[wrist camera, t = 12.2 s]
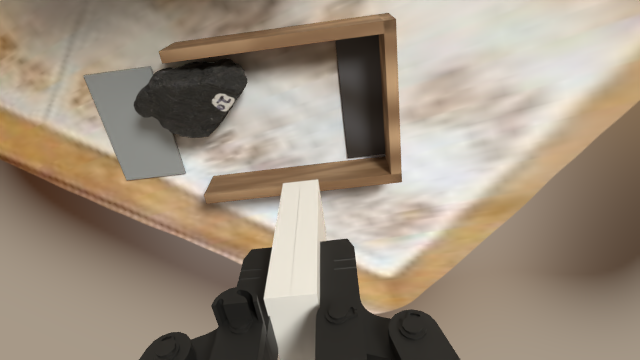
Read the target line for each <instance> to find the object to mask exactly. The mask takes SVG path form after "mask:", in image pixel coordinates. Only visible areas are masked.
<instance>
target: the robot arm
mask: <svg viewBox="0 0 640 360" xmlns="http://www.w3.org/2000/svg"><path fill="white" fill-rule="evenodd" d="M212 309H213V312H214V315H215V317H216V320H217V323H218V325H219V327H218V328H217V329H216V330H214V331H212V332H210V333H208V334H206V335H203V336H200V337H197V338H195V339H192V340H190V338H189V337H188V336H187V335H186V334H184V333H181V332H173V333H168V334H166V335H163V336H161V337H159V338H158V339H156V340H155V341H153V343H152V344H151V345H150V346H149V347H148V348H147V349H146V351H145V352H144V354H143V355H142V356H141V358H140V359H139V360H277V358H278V354H279V358H280V360H460V358H459V357H458V355H457V354H456V352H455V351H454V349H453V348H452V346H451V345H450V343H449V341H448V340H447V338H446V337H445V335H444V334H443V332H442V330H441V329H440V327H439V326H438V324H437V323H436V322H435V320H434V319H432V317H431V316H430V315H428V314H426V313H424V312H422V311H418V310H404V311H402V312H399V313H397V314H395V315H394V316H393V317H392V319H389V318H383V317H379V316H376V315H374V314H372V313H370V312H369V311H367V310H366V309H365V308H364V306H363V305H362V303H361V300H360V294H359V285H358V277H357V268H356V259H355V251H354V246H353V245H352V244H351V243H350V241H349V240H348V239H340V240H330V241H326V228H325V221H324V215H323V208H322V202H321V195H320V188H319V182H318V179H317V180H308V181H299V182H290V183H283V186H282V192H281V198H280V204H279V210H278V216H277V222H276V228H275V234H274V240H273V246H272V247H271V248H262V249H252V250H251V251H250V252H249V253H248V255H247V256H246V257H245V258H244V260H243V264H242V268H241V272H240V276H239V281H238V284H237V287H235V288H231V289H228V290H226V291H224V292H223V293H221V294H220V295H219V296H218V297H217V298H216V299H215V300H214V302H213V304H212Z"/></svg>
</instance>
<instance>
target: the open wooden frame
mask: <svg viewBox="0 0 640 360" xmlns="http://www.w3.org/2000/svg"><path fill="white" fill-rule="evenodd" d="M333 40H336V49H337V59H338V68H339V77H340V87H341V96H342V105H343V115H344V124H345V134H346V143H347V152H348V158H353V157H362V156H370V155H379V154H385V156H383V157H374V158H366V159H357V160H349V161H340V162H331V163H323V164H314V165H305V166H297V167H288V168H279V169H271V170H262V171H253V172H245V173H236V174H227V175H219V176H213V178H212V180H211V182H210V184H209V186H208V188H207V190H206V192H205V194H204V197H205V201H206V204H209V203H218V202H227V201H236V200H245V199H254V198H263V197H272V196H281V192H282V186H283V183H290V182H299V181H308V180H317V179H318V182H319V188H320V191H326V190H335V189H344V188H353V187H362V186H371V185H380V184H389V183H398V182H402V174H401V147H400V119H399V91H398V64H397V36H396V19H395V18H394V17H393V16H391V15H390V14H389V13H385V14H378V15H370V16H363V17H356V18H349V19H341V20H334V21H327V22H320V23H313V24H305V25H298V26H291V27H284V28H276V29H269V30H262V31H255V32H247V33H240V34H233V35H226V36H218V37H211V38H204V39H197V40H189V41H182V42H175V43H173V44H171V45H169V46H168V47H166V48H164V49H162V50H161V51H159V54H160V57H161V61H162V64H163V63H170V62H177V61H185V60H192V59H200V58H207V57H214V56H222V55H229V54H237V53H244V52H251V51H259V50H266V49H274V48H281V47H288V46H296V45H303V44H311V43H318V42H325V41H333Z"/></svg>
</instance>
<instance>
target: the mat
mask: <svg viewBox="0 0 640 360" xmlns="http://www.w3.org/2000/svg"><path fill="white" fill-rule="evenodd" d="M153 75H154V74H153V71H152V68H151V66H149V67H142V68H134V69H127V70H119V71H112V72H105V73H97V74H90V75H84V78H85V81H86V83H87V86H88V88H89V90H90V93H91V95H92V98H93V100H94V103H95V105H96V107H97V110H98V112H99V115H100V117H101V119H102V122H103V124H104V127H105V129H106V132H107V134H108V136H109V139H110V141H111V144H112V146H113V148H114V151H115V153H116V156H117V158H118V161H119V163H120V165H121V168H122V170H123V173H124V175H125V177H126V180H134V179H143V178H151V177H160V176H169V175H177V174H185V173H186V172H185V169H184V166H183V163H182V159H181V156H180V153H179V150H178V147H177V144H176V141H175V138H174V135H173V133H171V132H169V130H168V129H165V128H163V127H162V125H161V124H160V122H159V121H158V120H157V119H156V118H154V117H149V118H144V117H142V116H141V115H139V114H138V113H137V112H136V110H135V108H134V101H135V100H136V97H137V95H138V93H139V91H140V90H141V89H142V88H143V87H145V86H146V85H147V84H148V83H149V81H150V79H151V77H152V76H153Z"/></svg>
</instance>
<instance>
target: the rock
mask: <svg viewBox="0 0 640 360" xmlns="http://www.w3.org/2000/svg"><path fill="white" fill-rule="evenodd" d="M244 71H245V70H243V69H242V68H241V66H240V65H239V64H235V63H234V62H233V61H232V60H231V59H222V60H219V61H217V62H214V63H209V62H206V61H205V62H193V63H189V64H186V65H184V66H182V67H178V68H175V69H173V68H166V69H162V70H160V71H157V72H156V73H155V74H154V75H153V76H152V77H151V79H150V81H149V83H148V84H147V85H146V86H145V87H143V88H142V89H141V90H140V91H139V93H138V95H137V97H136V100H135V101H134V108H135V110H136V112H137V113H138V114H139V115H141V116H142V117H144V118H149V117H154V118H156V119H157V120H158V121H159V122H160V124H161V125H162V127H163V128H165V129H168V130H169V132H171V133H174V134H178V135H180V136H184V137H190V138H196V137H197V138H200V137H208V136H209V135H210V134H211V133H212V132H213V131H214V130H215V129H216V128H217V127H218V126H219V125H220V123H221V122H222V121H223V120H224V118H225V117H226V115H227V114H228V112H229V110H230V109H231V108H232V106H233V104H234V102H235V101H236V100H237V98H238V97H239V96H240V94H241V93H242V92H243V90H244V88H245V87H246V84H247V78H246V76H245V73H244Z"/></svg>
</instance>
